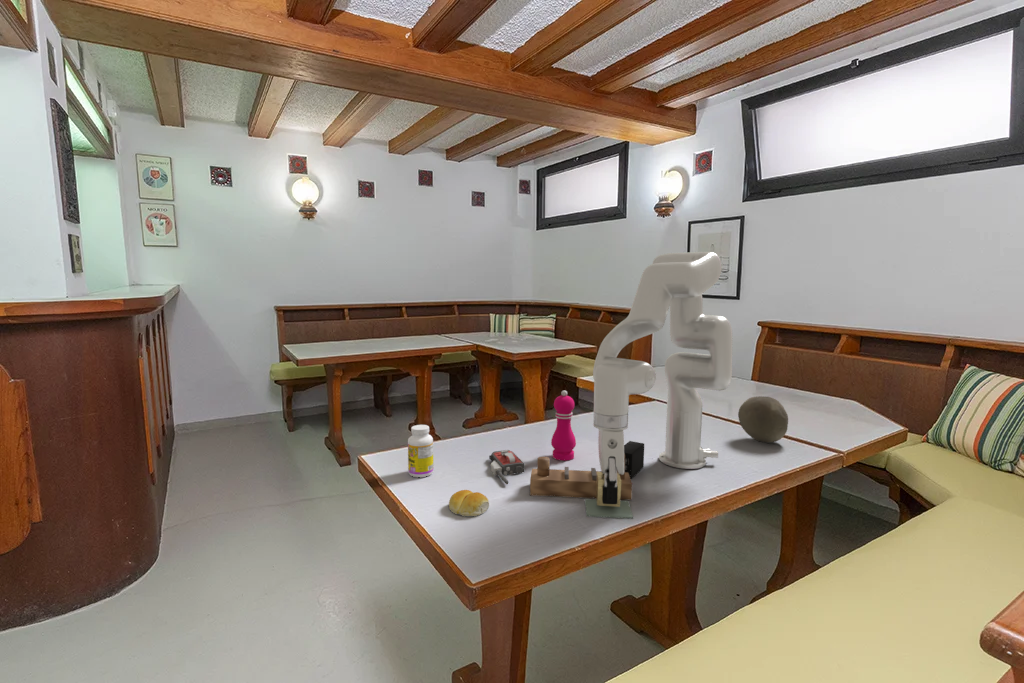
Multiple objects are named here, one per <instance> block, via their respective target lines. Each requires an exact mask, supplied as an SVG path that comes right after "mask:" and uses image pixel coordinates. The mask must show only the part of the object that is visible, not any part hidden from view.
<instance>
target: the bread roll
mask: <svg viewBox="0 0 1024 683" xmlns="http://www.w3.org/2000/svg"><path fill="white" fill-rule="evenodd" d="M489 507H490V501H489V499H488V497H487V496H486V495H484V494H483V493H481V492H478V491H477V492H474V491H471V490H470V489H462V490H458V491H456V492H454V493H453V494H452V495H451V496H450V498H449V501H448V508H449V510H451V511H450V512H451V513H452V512H453V513H452V514H454V513H455V515H457V514H459V515H460V516H461V515H462V517H465V516H474V517H478V516H481V515H483V514H484V513H485V512H487V511H488V509H489ZM480 514H481V515H480ZM477 515H478V516H477Z"/></svg>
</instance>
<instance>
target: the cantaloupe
mask: <svg viewBox="0 0 1024 683" xmlns="http://www.w3.org/2000/svg"><path fill="white" fill-rule="evenodd" d="M737 415H738V421H739V423H740V426H741V428H742V430H744V432H745V433H746V434H747V435H749V436H750V438H752V440H753V439H754V441H757V442H759V443H764V442H765V443H767V444H770V443H772V444H773V443H776V442H778V441H780V440H781V439H783V438H784V437H785V435H786V433H787V431H788V427H789V426H788V425H789V415H788V412H787V411H786V409H785V407H784V405H783V404H782V403H781V402H780V401H779V400H777V399H776V398H774V397H771V396H762V395H761V396H752V397H749V398H747V399H746V400H745V401H744V402H743V403H742V404H741V405H740V407H739V409H738V414H737Z"/></svg>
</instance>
